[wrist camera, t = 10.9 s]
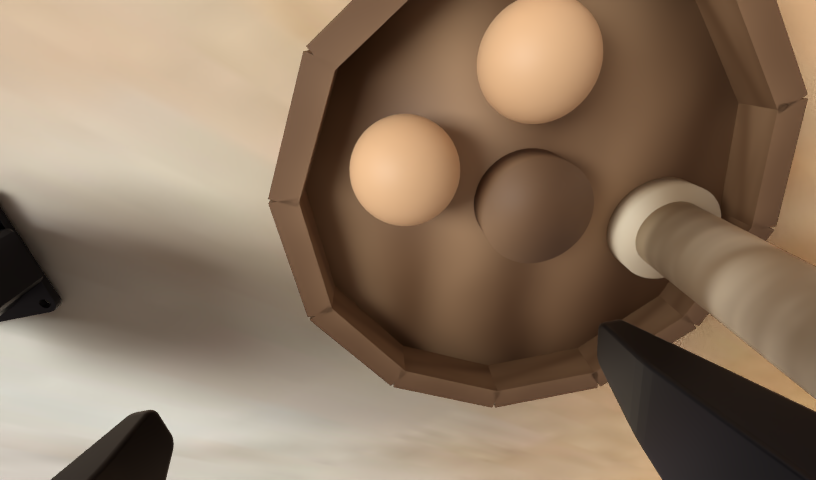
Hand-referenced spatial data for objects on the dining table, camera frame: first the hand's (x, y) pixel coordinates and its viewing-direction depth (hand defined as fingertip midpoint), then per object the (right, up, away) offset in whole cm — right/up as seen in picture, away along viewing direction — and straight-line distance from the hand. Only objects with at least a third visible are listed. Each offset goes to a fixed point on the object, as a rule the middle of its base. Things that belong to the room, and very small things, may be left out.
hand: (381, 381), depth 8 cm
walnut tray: (+6, +5, +13) cm, 15 cm away
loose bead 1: (0, +7, +10) cm, 12 cm away
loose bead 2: (+5, +10, +9) cm, 15 cm away
